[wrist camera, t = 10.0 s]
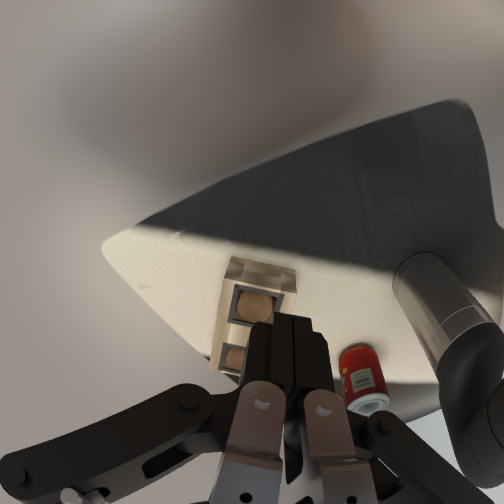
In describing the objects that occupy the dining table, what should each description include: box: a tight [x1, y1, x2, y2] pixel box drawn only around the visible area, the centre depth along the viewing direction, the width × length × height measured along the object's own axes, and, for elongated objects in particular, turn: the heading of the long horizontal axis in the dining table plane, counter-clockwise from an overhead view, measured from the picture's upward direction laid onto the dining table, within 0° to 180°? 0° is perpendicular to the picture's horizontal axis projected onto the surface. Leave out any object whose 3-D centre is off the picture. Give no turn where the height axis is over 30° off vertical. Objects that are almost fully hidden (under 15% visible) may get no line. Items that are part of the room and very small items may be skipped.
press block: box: [209, 257, 297, 376], centre depth 41 cm, size 9×17×6 cm, turn 169°
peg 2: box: [237, 289, 273, 323], centre depth 39 cm, size 4×4×6 cm
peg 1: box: [226, 347, 245, 371], centre depth 43 cm, size 4×4×6 cm
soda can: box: [339, 344, 390, 417], centre depth 41 cm, size 7×7×12 cm
